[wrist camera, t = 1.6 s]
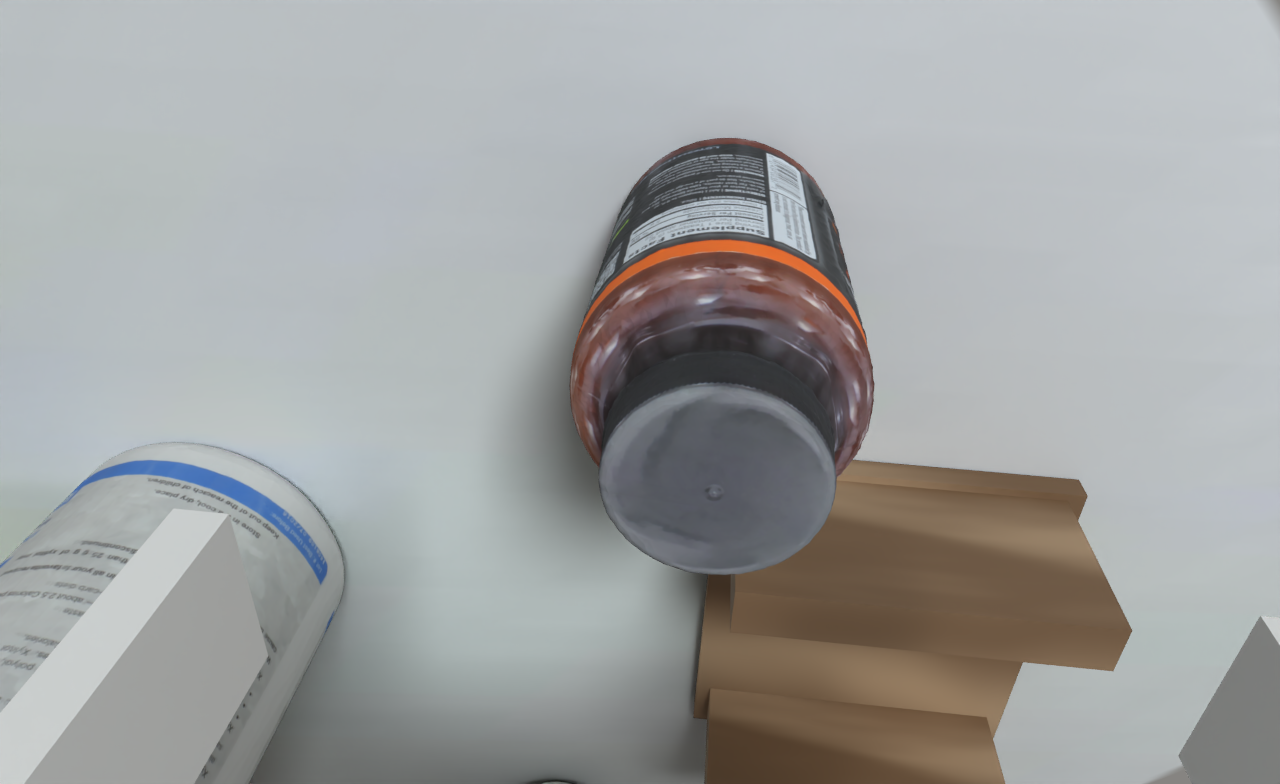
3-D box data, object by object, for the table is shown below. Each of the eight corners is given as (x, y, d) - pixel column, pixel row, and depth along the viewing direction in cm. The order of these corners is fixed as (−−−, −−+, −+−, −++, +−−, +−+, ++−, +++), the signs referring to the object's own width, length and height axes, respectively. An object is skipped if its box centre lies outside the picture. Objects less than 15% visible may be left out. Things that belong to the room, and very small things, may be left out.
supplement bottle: (822, 339, 26) (870, 636, 16) (618, 330, 26) (546, 612, 16) (849, 132, 22) (928, 347, 13) (616, 125, 23) (525, 328, 13)
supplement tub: (58, 421, 30) (-426, 829, 18) (328, 437, 29) (22, 877, 17) (141, 624, 35) (-188, 1052, 23) (373, 643, 34) (164, 1096, 22)
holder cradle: (983, 731, 34) (1026, 888, 29) (694, 700, 34) (686, 849, 29) (1078, 479, 27) (1156, 625, 22) (721, 448, 28) (716, 582, 23)
